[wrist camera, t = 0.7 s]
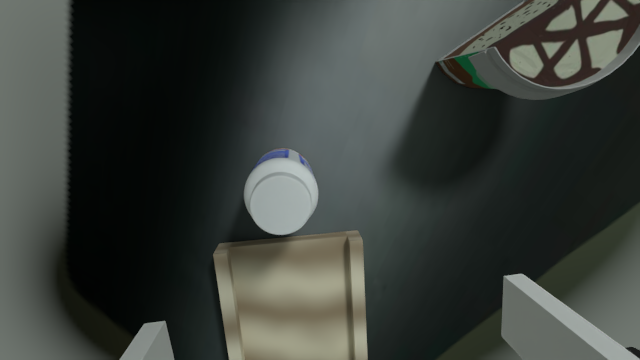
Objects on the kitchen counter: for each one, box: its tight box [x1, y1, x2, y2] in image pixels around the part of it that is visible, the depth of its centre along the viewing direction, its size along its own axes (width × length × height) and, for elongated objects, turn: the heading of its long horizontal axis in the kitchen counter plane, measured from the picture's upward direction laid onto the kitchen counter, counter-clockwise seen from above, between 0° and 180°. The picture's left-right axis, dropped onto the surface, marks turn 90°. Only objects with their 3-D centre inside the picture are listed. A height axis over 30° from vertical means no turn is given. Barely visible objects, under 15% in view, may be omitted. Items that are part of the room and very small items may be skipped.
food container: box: [436, 0, 640, 100], centre depth 24 cm, size 12×6×10 cm, turn 124°
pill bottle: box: [244, 148, 318, 235], centre depth 25 cm, size 5×5×10 cm
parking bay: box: [213, 230, 367, 360], centre depth 31 cm, size 15×13×4 cm
